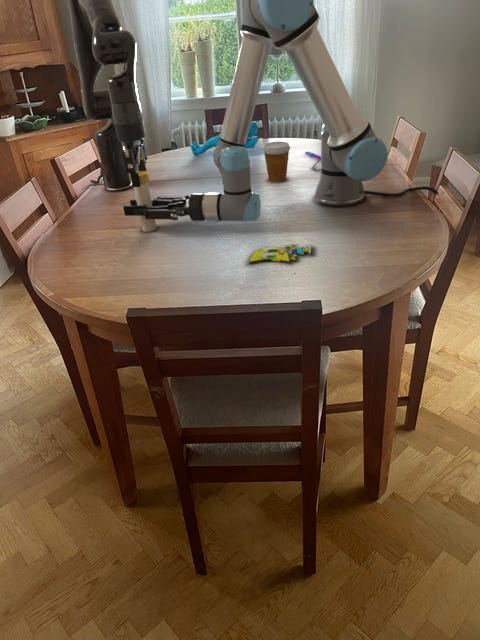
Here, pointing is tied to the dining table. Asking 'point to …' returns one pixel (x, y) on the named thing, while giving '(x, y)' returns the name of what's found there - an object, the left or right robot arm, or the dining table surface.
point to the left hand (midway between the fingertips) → (140, 182)
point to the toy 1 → (214, 141)
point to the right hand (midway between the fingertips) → (128, 207)
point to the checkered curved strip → (315, 157)
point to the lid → (143, 176)
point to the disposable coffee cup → (276, 160)
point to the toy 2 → (278, 254)
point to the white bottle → (145, 198)
